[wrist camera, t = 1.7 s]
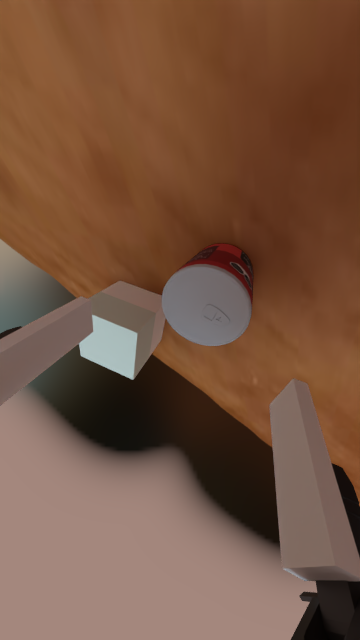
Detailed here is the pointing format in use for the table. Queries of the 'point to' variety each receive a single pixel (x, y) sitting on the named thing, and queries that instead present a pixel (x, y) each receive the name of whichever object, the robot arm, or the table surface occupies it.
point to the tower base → (141, 305)
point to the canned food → (211, 296)
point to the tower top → (118, 335)
